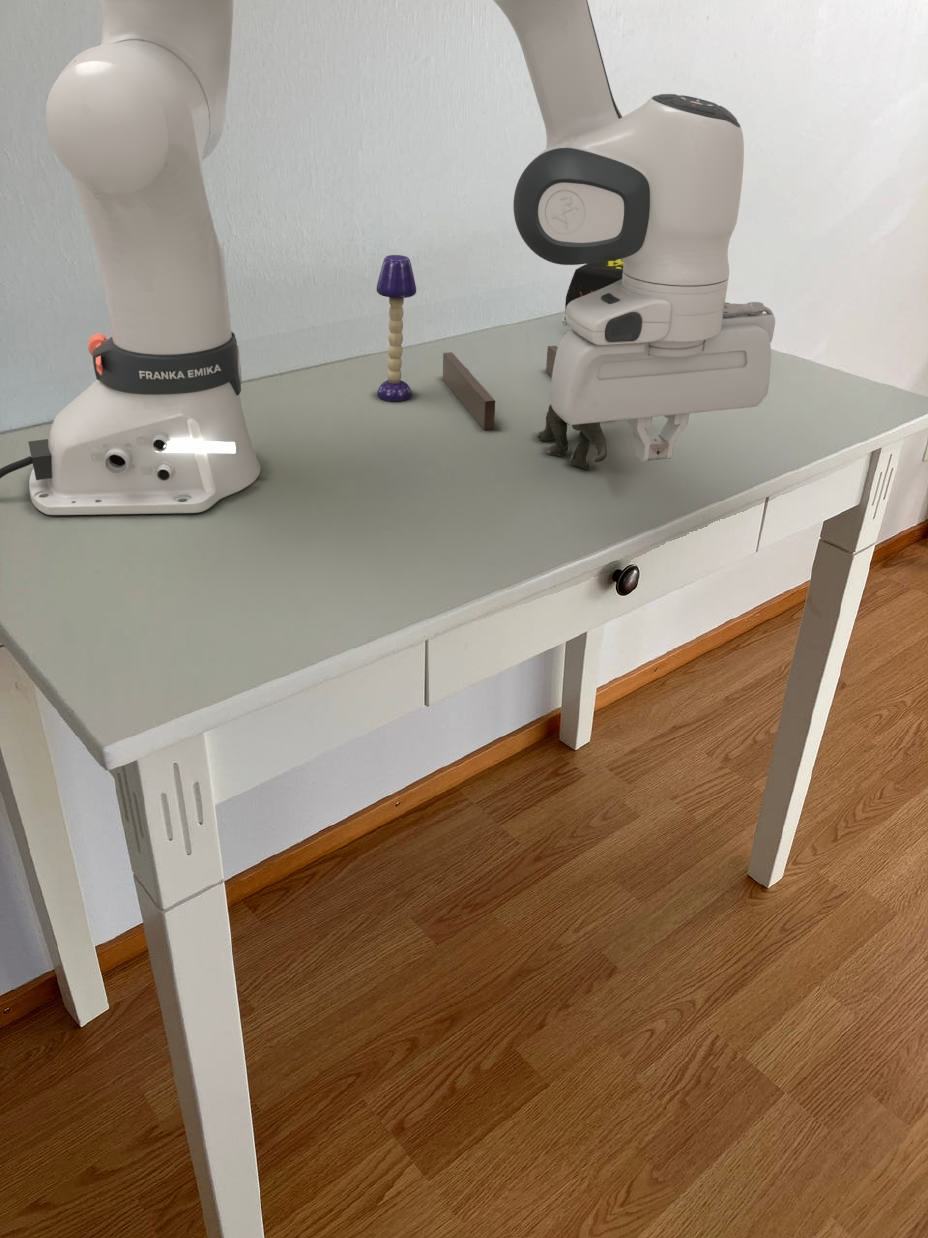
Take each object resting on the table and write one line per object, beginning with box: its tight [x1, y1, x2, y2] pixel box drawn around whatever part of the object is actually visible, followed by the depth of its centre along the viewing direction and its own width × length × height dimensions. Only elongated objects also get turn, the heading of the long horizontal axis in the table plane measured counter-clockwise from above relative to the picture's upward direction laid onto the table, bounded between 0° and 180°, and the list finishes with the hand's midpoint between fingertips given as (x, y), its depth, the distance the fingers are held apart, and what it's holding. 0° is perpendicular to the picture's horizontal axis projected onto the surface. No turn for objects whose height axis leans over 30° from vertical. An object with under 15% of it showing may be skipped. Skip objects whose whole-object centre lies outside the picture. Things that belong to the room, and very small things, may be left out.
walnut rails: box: [442, 345, 558, 431], centre depth 126 cm, size 15×18×4 cm
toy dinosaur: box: [537, 402, 608, 470], centre depth 110 cm, size 22×8×11 cm, turn 168°
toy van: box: [561, 259, 731, 327], centre depth 146 cm, size 11×25×10 cm, turn 57°
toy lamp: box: [376, 254, 417, 402], centre depth 122 cm, size 5×5×17 cm
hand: (653, 457), depth 95 cm, fingers closed
